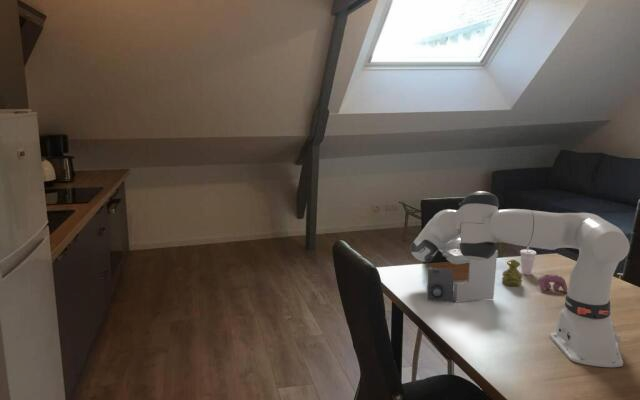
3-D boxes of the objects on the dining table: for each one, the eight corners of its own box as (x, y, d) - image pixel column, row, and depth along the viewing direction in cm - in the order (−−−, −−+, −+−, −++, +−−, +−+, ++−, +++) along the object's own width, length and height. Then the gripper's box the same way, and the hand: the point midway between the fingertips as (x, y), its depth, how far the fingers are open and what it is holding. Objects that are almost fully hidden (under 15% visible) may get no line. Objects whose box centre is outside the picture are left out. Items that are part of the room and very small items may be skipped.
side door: (453, 302, 179) (456, 253, 175) (452, 301, 181) (455, 252, 177) (493, 299, 182) (497, 251, 178) (491, 298, 183) (495, 250, 179)
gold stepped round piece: (525, 286, 195) (528, 262, 193) (509, 288, 193) (511, 264, 191) (513, 279, 202) (515, 256, 200) (497, 281, 200) (499, 258, 198)
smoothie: (514, 271, 211) (517, 240, 208) (525, 269, 213) (528, 238, 210) (526, 276, 205) (529, 244, 202) (538, 274, 208) (541, 242, 205)
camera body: (452, 304, 179) (454, 283, 177) (427, 301, 181) (428, 281, 179) (450, 285, 196) (451, 267, 194) (427, 283, 197) (428, 265, 196)
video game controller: (564, 293, 192) (562, 275, 194) (568, 292, 188) (567, 274, 189) (537, 292, 193) (536, 274, 195) (542, 291, 189) (540, 273, 190)
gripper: (440, 245, 188) (463, 256, 175) (483, 239, 195) (508, 249, 182) (439, 260, 189) (461, 273, 176) (482, 254, 196) (507, 266, 184)
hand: (485, 261), depth 179 cm, fingers closed
